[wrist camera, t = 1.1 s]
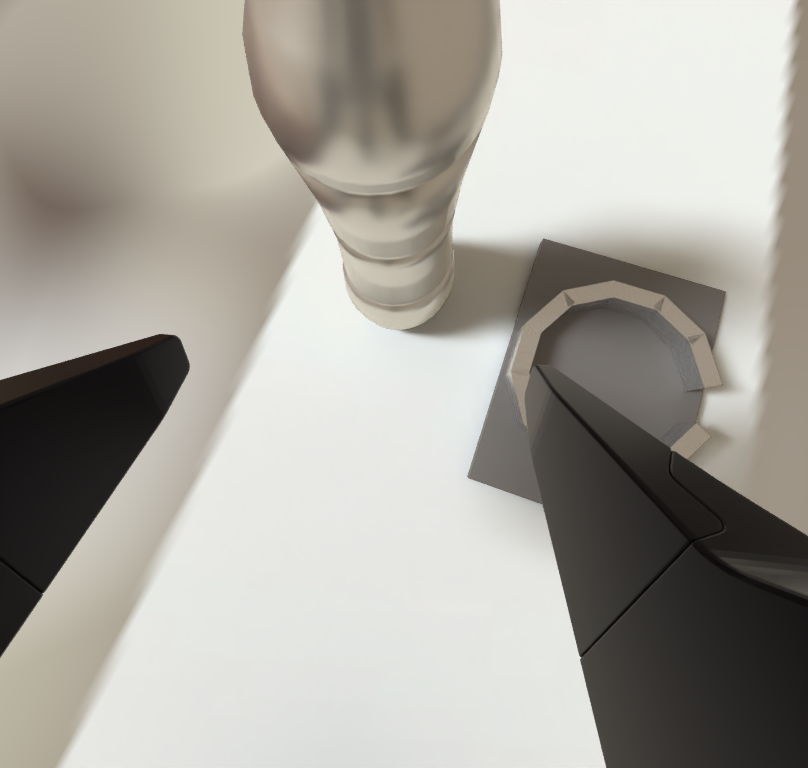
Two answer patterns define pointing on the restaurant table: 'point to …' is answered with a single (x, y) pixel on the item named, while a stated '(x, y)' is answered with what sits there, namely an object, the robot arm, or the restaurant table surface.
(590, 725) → the restaurant table surface
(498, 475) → the ring mat
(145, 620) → the restaurant table surface
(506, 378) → the split ring
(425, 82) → the plastic bottle
